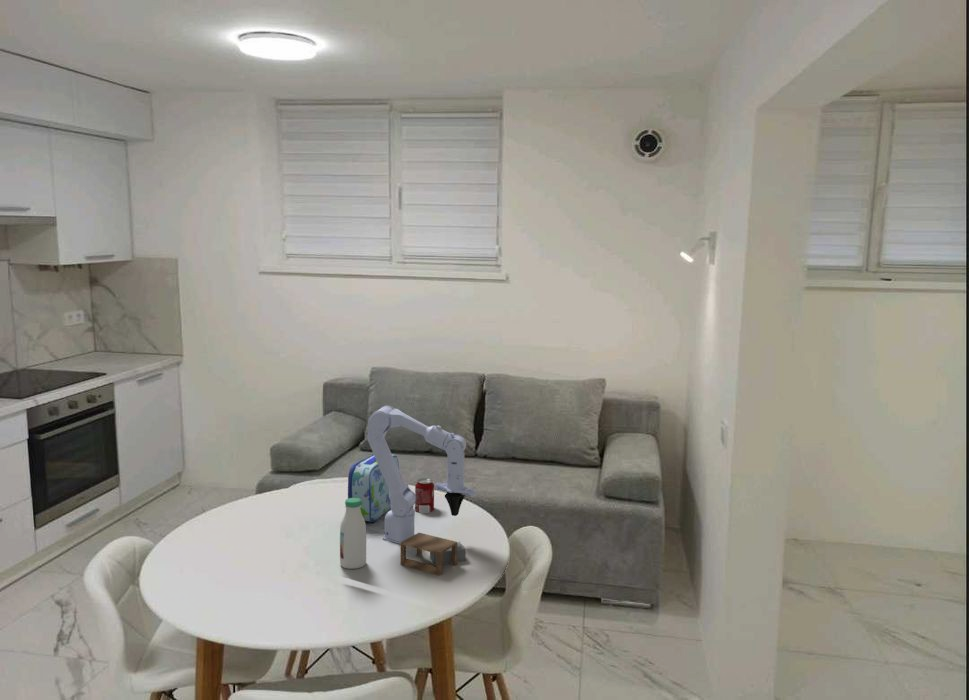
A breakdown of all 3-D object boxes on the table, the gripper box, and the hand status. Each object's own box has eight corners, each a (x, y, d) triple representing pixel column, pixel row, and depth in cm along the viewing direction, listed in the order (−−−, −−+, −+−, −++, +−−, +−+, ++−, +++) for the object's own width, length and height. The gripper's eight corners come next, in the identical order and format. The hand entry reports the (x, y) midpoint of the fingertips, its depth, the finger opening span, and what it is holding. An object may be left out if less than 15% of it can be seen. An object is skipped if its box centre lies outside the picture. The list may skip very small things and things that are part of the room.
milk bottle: (370, 561, 225) (371, 497, 222) (358, 571, 217) (358, 505, 215) (348, 557, 227) (348, 494, 225) (335, 567, 220) (335, 502, 217)
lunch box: (375, 500, 280) (375, 446, 278) (401, 503, 277) (402, 448, 275) (343, 523, 255) (343, 464, 253) (372, 527, 253) (372, 467, 250)
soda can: (430, 516, 264) (431, 484, 262) (412, 515, 265) (413, 482, 264) (436, 510, 270) (436, 478, 269) (418, 508, 272) (418, 477, 270)
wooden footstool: (400, 564, 223) (400, 542, 222) (418, 554, 231) (418, 532, 230) (439, 575, 216) (440, 552, 215) (456, 564, 224) (457, 541, 223)
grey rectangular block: (429, 559, 227) (430, 542, 227) (460, 555, 231) (461, 538, 230) (433, 565, 223) (434, 547, 222) (465, 561, 227) (465, 543, 226)
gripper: (429, 473, 238) (429, 514, 239) (468, 480, 230) (467, 522, 232) (441, 467, 244) (441, 507, 245) (479, 475, 237) (479, 516, 238)
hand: (454, 514), depth 239 cm, fingers closed
